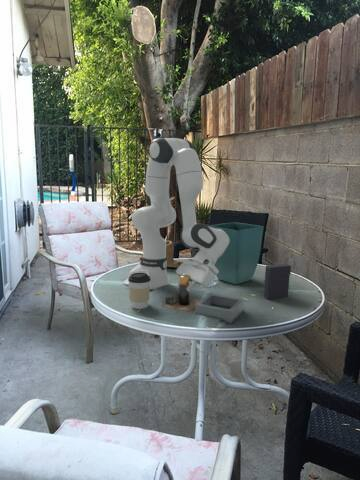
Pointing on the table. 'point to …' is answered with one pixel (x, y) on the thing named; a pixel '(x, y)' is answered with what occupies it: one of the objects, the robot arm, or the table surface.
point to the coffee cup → (139, 290)
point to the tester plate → (173, 302)
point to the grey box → (277, 281)
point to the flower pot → (239, 252)
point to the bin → (223, 313)
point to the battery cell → (183, 294)
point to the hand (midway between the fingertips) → (183, 288)
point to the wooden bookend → (171, 255)
